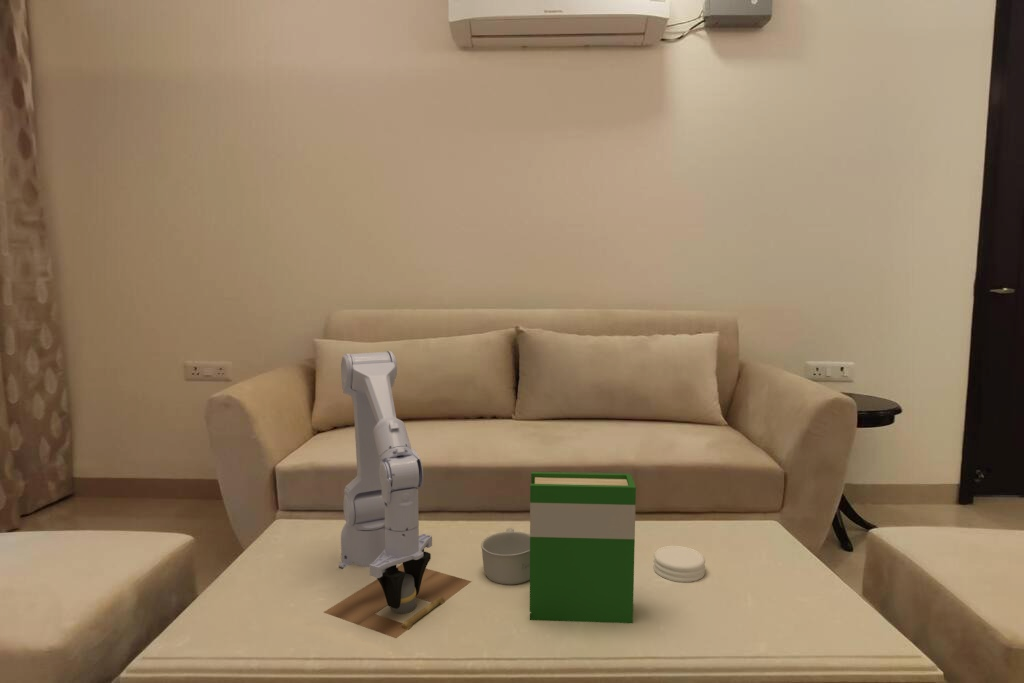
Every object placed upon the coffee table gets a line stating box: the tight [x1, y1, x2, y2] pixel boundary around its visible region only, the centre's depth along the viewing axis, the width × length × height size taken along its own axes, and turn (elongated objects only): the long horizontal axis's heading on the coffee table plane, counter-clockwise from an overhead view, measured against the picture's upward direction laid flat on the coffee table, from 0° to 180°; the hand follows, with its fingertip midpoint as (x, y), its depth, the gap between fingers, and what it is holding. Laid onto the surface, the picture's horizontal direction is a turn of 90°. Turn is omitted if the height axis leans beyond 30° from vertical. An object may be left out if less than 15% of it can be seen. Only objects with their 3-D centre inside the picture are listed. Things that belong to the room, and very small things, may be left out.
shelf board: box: [323, 563, 472, 639], centre depth 118 cm, size 16×22×2 cm
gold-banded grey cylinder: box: [390, 574, 417, 615], centre depth 114 cm, size 5×5×5 cm
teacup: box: [480, 527, 530, 586], centre depth 128 cm, size 14×11×8 cm
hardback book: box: [529, 471, 637, 624], centre depth 115 cm, size 18×7×24 cm, turn 87°
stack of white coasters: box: [653, 545, 706, 583], centre depth 131 cm, size 10×10×4 cm
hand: (403, 600), depth 114 cm, fingers closed on gold-banded grey cylinder, 5 cm apart
